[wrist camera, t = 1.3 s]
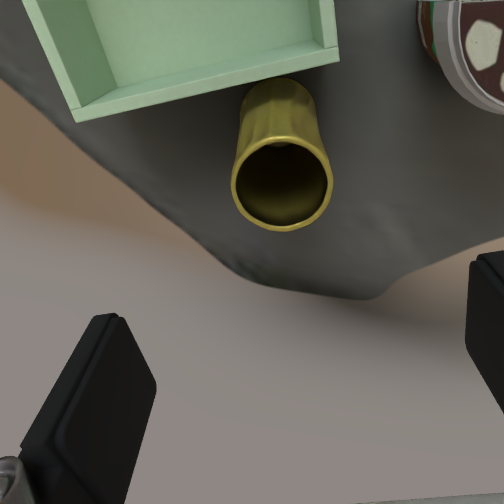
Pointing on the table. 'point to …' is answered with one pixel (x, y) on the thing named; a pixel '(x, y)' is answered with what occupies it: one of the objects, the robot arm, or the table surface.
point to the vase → (280, 158)
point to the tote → (175, 47)
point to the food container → (467, 46)
